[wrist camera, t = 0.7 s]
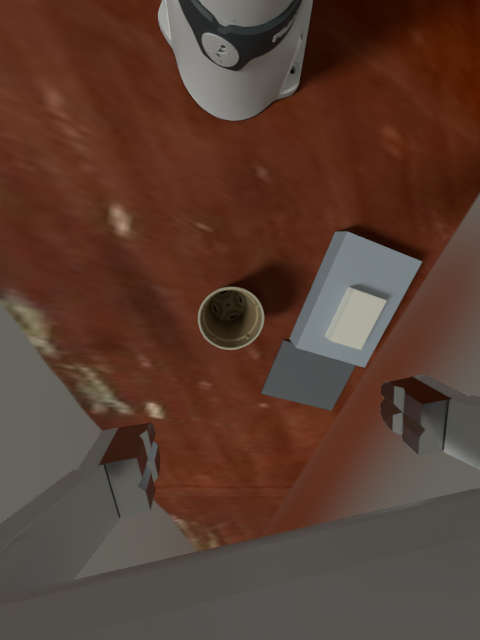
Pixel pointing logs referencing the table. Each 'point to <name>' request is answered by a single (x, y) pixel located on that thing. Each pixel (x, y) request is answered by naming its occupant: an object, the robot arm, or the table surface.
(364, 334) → the cream flat block
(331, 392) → the mat
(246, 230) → the table surface
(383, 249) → the plate
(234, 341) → the flower pot
